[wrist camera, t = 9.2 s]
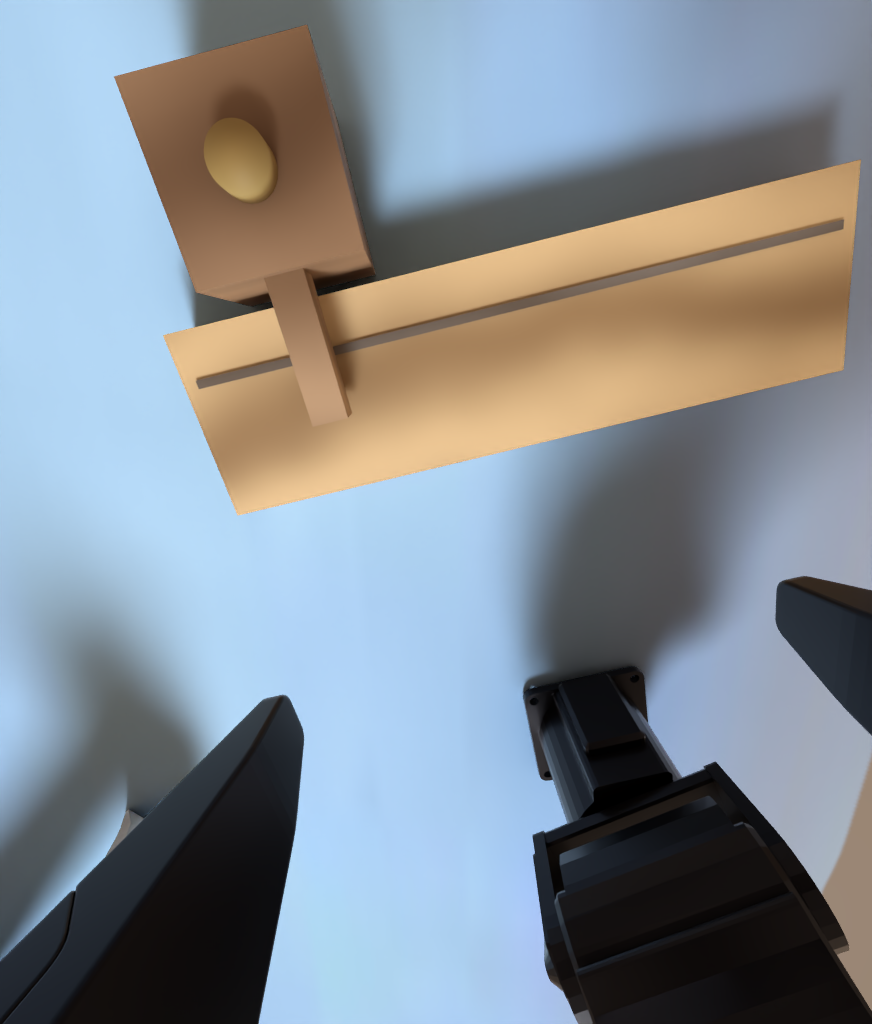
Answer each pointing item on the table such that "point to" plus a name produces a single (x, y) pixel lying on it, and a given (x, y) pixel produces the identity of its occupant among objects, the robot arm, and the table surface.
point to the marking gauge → (257, 188)
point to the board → (537, 341)
